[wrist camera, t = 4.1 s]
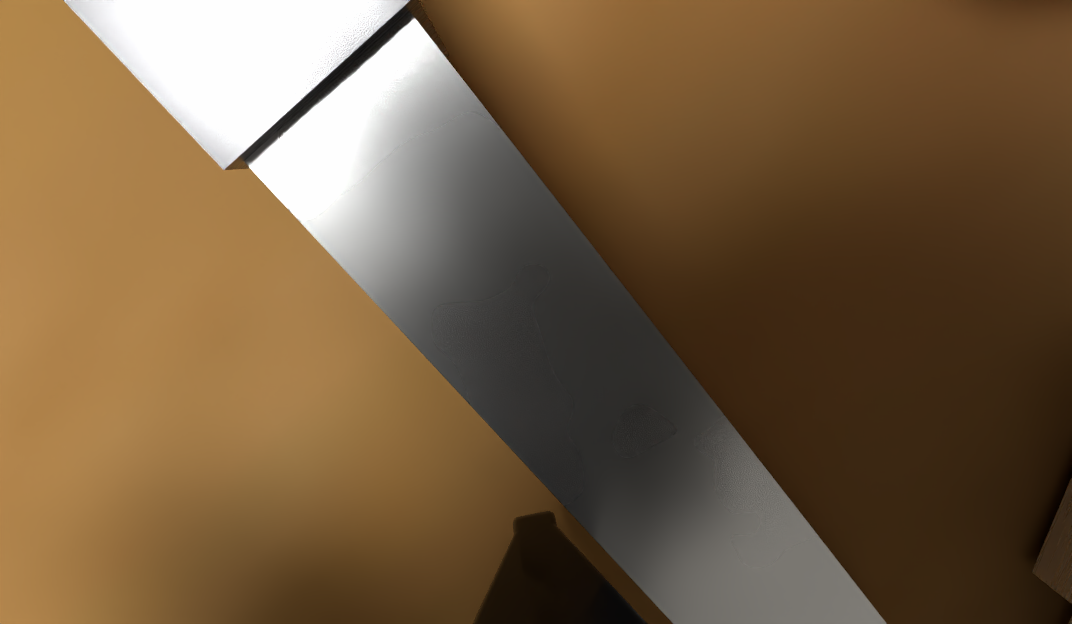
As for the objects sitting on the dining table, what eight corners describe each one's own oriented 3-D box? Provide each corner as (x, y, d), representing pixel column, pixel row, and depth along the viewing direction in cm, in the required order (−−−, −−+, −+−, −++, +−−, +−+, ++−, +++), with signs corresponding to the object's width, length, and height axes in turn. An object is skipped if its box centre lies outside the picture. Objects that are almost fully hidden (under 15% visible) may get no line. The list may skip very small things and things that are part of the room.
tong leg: (983, 742, 10) (1141, 938, 8) (888, 797, 11) (1012, 1006, 8) (159, -319, 6) (-125, -706, 3) (27, -175, 6) (-336, -422, 3)
